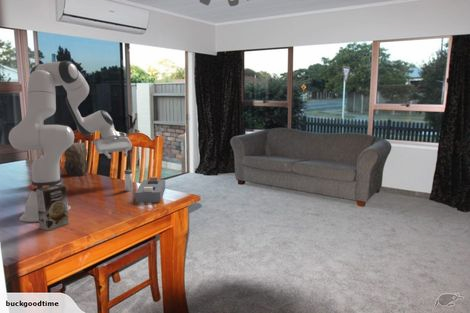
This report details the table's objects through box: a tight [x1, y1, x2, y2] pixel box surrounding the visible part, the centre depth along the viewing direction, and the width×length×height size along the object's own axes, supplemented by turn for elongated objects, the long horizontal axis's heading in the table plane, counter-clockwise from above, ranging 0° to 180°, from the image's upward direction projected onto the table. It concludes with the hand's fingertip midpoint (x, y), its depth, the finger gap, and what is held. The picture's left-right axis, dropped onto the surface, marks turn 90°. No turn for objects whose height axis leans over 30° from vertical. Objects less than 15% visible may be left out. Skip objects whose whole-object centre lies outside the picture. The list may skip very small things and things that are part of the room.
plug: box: [124, 169, 134, 192], centre depth 194 cm, size 4×4×11 cm
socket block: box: [134, 176, 166, 204], centre depth 186 cm, size 25×12×7 cm, turn 5°
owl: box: [63, 142, 89, 177], centre depth 230 cm, size 13×13×20 cm
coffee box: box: [36, 184, 70, 231], centre depth 143 cm, size 9×6×16 cm
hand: (118, 156), depth 201 cm, fingers open, 8 cm apart
